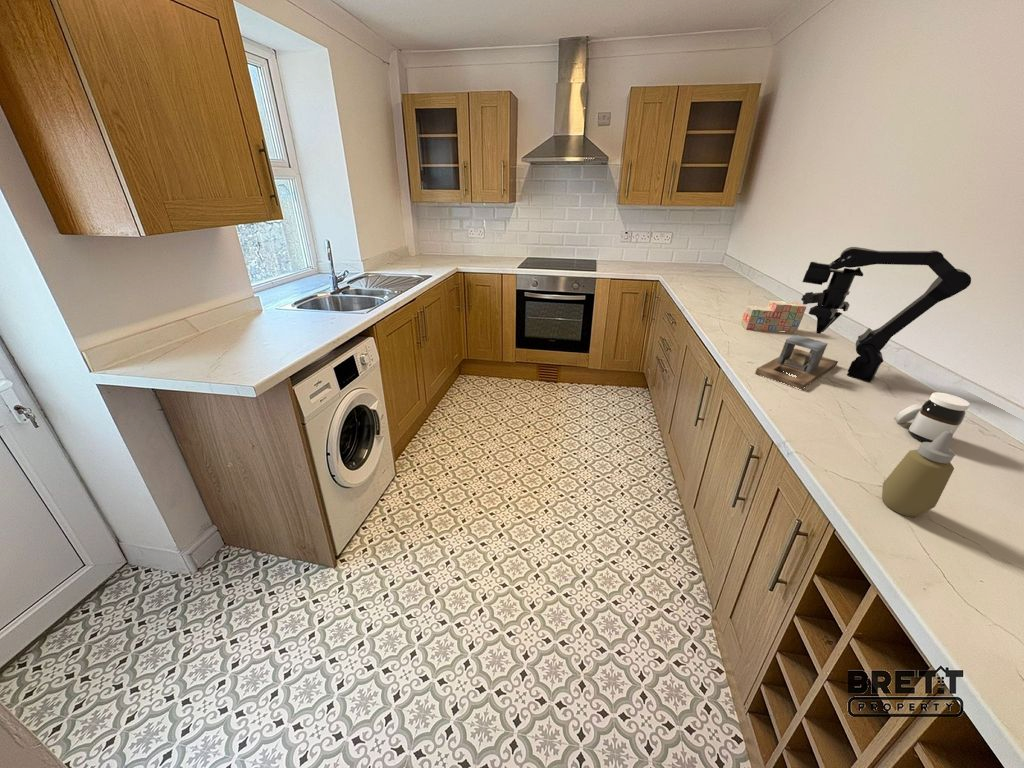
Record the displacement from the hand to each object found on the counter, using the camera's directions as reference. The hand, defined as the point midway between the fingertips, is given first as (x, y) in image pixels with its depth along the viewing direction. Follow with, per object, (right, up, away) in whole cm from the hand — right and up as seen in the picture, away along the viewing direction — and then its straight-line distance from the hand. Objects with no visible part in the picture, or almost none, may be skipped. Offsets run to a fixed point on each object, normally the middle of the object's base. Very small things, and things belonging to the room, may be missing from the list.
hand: (819, 332), depth 139 cm
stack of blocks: (+7, +6, +39) cm, 40 cm away
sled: (-4, -10, +2) cm, 11 cm away
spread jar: (+1, -31, -33) cm, 45 cm away
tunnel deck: (-8, -13, 0) cm, 15 cm away
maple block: (-9, -12, -1) cm, 15 cm away
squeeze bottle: (-28, -43, -58) cm, 77 cm away
